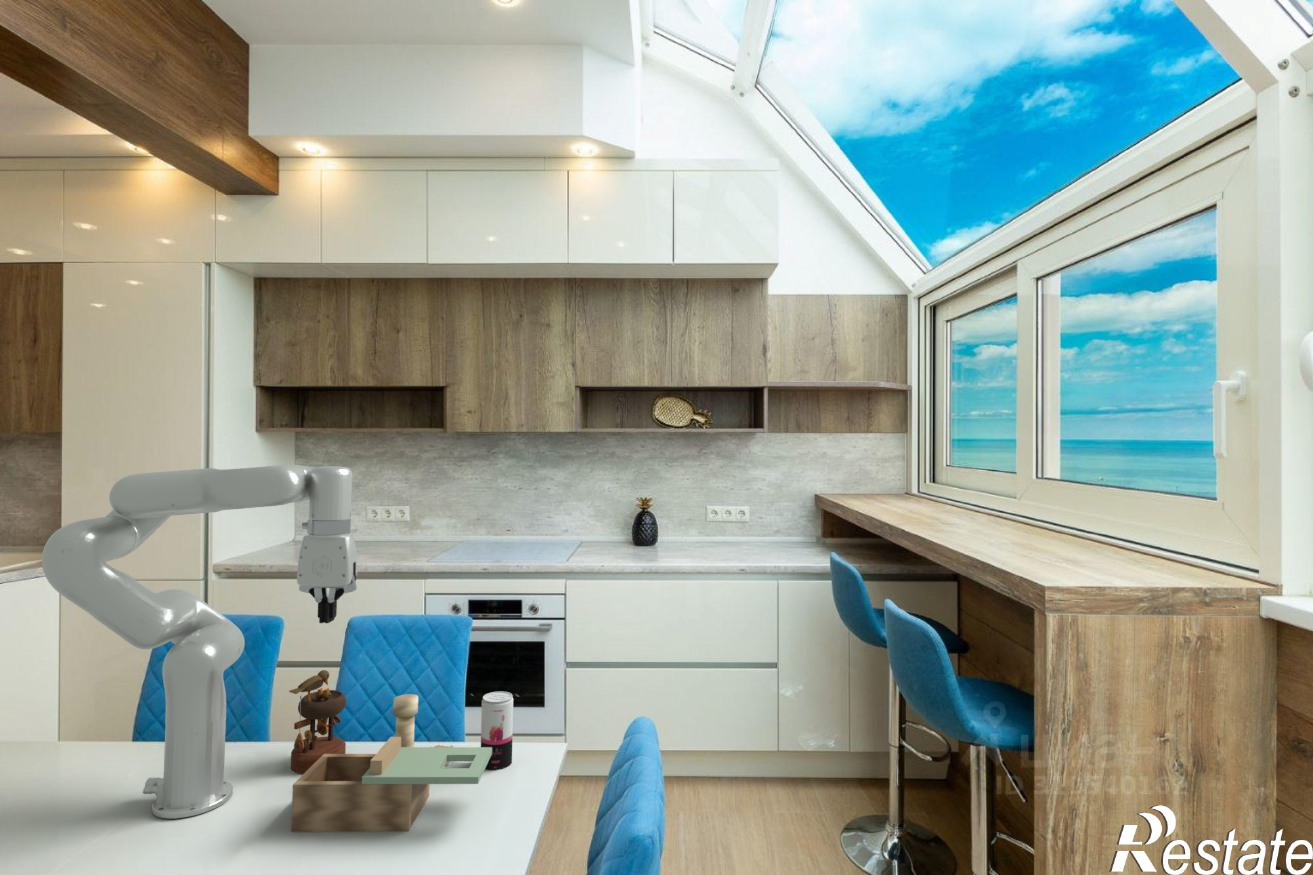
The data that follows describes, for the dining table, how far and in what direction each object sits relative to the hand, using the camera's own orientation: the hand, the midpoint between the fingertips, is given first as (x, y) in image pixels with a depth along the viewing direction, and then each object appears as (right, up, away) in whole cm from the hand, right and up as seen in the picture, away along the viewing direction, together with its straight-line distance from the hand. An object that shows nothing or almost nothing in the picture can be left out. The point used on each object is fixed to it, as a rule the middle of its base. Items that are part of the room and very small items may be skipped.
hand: (326, 621), depth 133 cm
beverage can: (+31, -34, +10) cm, 47 cm away
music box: (-7, -34, +12) cm, 36 cm away
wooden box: (+12, -33, -10) cm, 37 cm away
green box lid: (+24, -24, -10) cm, 35 cm away
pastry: (+17, -34, +12) cm, 40 cm away
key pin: (+13, -34, +6) cm, 36 cm away
